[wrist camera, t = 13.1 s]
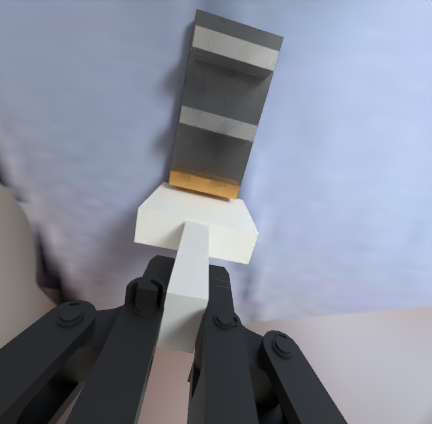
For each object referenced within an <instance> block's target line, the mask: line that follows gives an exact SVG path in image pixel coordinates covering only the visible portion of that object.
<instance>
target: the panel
mask: <svg viewBox="0 0 432 424" xmlns="http://www.w3.org/2000/svg"><path fill="white" fill-rule="evenodd" d="M186 221H189V222H194V223H198V224H203V225H208V226H209V257H213V258H219V259H224V260H229V261H234V262H239V263H244V264H248V263H249V260H250V257H251V254H252V251H253V249H254V246H255V243H256V240H257V237H258V234H259V233H258V231H257V229H256V227H255V225H254V223H253V220H252V218H251V216H250V214H249V212H248V210H247V208H246V206H245V204H244V202H243V200H241V199H236V200H235V199H231V198H226V197H222V196H218V195H213V194H209V193H205V192H200V191H196V190H192V189H187V188H183V187H179V186H174V185H170V184H169V183H167V182H163V183H162V184H161V185H160V186H159V187H158V188H157V189H156V190H155V191H154V192H153V193H152V194H151V195H150V196H149V197H148V198H147V199H146V200H145V201H144V202H143V203H142V205H141V206H140V207H139V208H138V214H137V223H136V231H135V239H134V242H137V243H142V244H147V245H152V246H157V247H162V248H168V249H173V250H178V249H179V245H180V242H181V238H182V234H183V231H184V227H185V223H186Z"/></svg>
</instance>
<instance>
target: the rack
mask: <svg viewBox="0 0 432 424" xmlns="http://www.w3.org/2000/svg"><path fill="white" fill-rule="evenodd" d="M283 38H284V37H281V36H278V35H275V34H272V33H269V32H266V31H262V30H259V29H256V28H253V27H250V26H247V25H244V24H241V23H238V22H235V21H232V20H229V19H226V18H223V17H219V16H216V15H213V14H210V13H207V12H204V11H201V10H198V9H197V10H196V16H195V22H194V28H193V34H192V40H191V46H190V52H189V58H188V64H187V69H186V75H185V81H184V87H183V93H182V99H181V105H180V111H179V117H178V123H177V129H176V135H175V141H174V147H173V153H172V159H171V164H170V170H169V176H168V182H167V183H169V184H170V185H174V186H179V187H183V188H187V189H192V190H196V191H200V192H205V193H209V194H213V195H218V196H222V197H226V198H231V199H235V200H236V199H237V196H238V192H239V189H240V186H241V182H242V179H243V175H244V172H245V168H246V165H247V161H248V158H249V155H250V151H251V148H252V144H253V141H254V137H255V134H256V130H257V127H258V124H259V120H260V117H261V113H262V110H263V106H264V103H265V100H266V96H267V93H268V89H269V86H270V82H271V79H272V75H273V72H274V69H275V65H276V62H277V58H278V55H279V51H280V48H281V44H282V41H283Z"/></svg>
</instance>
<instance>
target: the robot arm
mask: <svg viewBox="0 0 432 424" xmlns="http://www.w3.org/2000/svg"><path fill="white" fill-rule="evenodd" d="M156 348H160V349H168V350H174V351H182V352H188V353H193V352H194V348H195V356H194V361H193V364H192V367H191V371H190V374H189V378H188V382H190V393H189V405H188V419H187V424H347V422H346V421H345V419H344V417H343V416H342V414H341V413H340V411H339V410H338V408H337V406H336V405H335V403H334V402H333V400H332V399H331V397H330V395H329V394H328V392H327V391H326V389H325V388H324V386H323V385H322V383H321V382H320V380H319V378H318V377H317V375H316V374H315V372H314V370H313V369H312V367H311V366H310V364H309V363H308V361H307V359H306V358H305V356H304V355H303V353H302V352H301V350H300V349H299V347H298V345H297V344H296V343H295V342H294V341H293V339H291V338H290V337H289V336H287V335H286V334H284V333H282V332H280V331H274V330H272V331H269V332H267V333H266V334H265V335H264V337H263V336H261V335H259V334H256V333H254V332H252V331H250V330H248V329H247V328H245V327H244V326H243V325H242V323H241V321H240V318H239V317H238V316H237V315H236V313H235V312H234V306H233V299H232V292H231V285H230V278H229V273H228V272H227V271H226V269H225V268H224V267H220V266H215V265H210V264H209V226H208V225H203V224H198V223H194V222H189V221H186V223H185V227H184V231H183V234H182V238H181V242H180V245H179V249H178V252H177V256H176V259H175V258H169V257H164V256H159V255H157V256H155V257H154V258H153V259H151V260H150V262H149V264H148V266H147V268H146V270H145V272H144V274H143V277H139V278H136V279H134V280H132V281H131V282H130V283H129V284H128V285H127V288H126V296H125V304H124V305H123V306H120V307H118V308H114V309H109V310H99V311H96V309H95V307H94V305H92V304H91V303H89V302H87V301H82V300H75V301H69V302H66V303H62V304H60V305H58V306H57V307H55V308H53V309H52V310H50V311H49V312H48V313H47V314H45V315H44V316H43V317H41V318H40V319H39V320H37V321H36V322H35V323H33V324H32V325H31V326H30V327H28V328H27V329H26V330H24V331H23V332H22V333H20V334H19V335H18V336H17V337H15V338H14V339H13V340H11V341H10V342H9V343H7V344H6V345H5V346H3V347H2V348H1V349H0V424H56V423H57V421H58V420H59V419H60V417H61V416H62V415H63V413H64V412H65V411H66V409H67V408H68V407H69V405H70V404H71V403H72V401H73V400H74V399H75V397H76V396H77V395H78V393H79V392H80V390H81V389H82V388H83V389H82V391H81V393H80V395H79V397H78V399H77V401H76V403H75V405H74V407H73V409H72V411H71V413H70V415H69V417H68V419H67V421H66V423H65V424H137V423H138V419H139V415H140V411H141V407H142V403H143V399H144V395H145V391H146V387H147V383H148V379H149V374H150V371H151V367H152V363H153V358H154V353H155V349H156Z"/></svg>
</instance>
